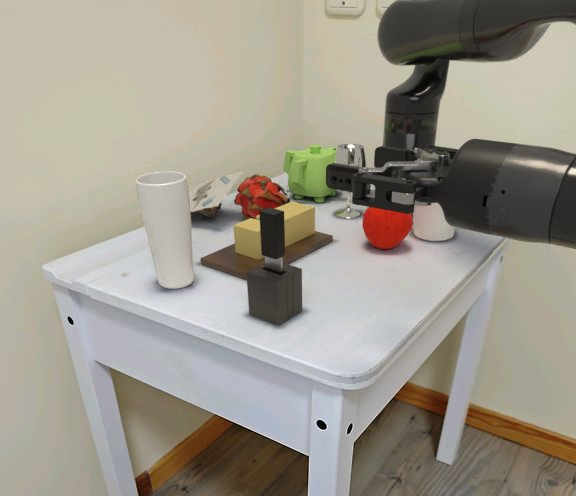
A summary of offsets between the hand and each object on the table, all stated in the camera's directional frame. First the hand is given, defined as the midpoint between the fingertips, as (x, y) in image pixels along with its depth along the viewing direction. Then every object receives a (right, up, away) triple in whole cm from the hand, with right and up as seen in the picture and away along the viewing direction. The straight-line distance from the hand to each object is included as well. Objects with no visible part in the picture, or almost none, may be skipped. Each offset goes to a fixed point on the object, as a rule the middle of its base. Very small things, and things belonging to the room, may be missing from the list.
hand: (353, 165), depth 56 cm
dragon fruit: (-11, +8, +47) cm, 49 cm away
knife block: (-8, -13, +18) cm, 23 cm away
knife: (-8, -13, +18) cm, 23 cm away
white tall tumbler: (-23, -7, +26) cm, 35 cm away
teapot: (-1, +16, +59) cm, 61 cm away
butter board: (-10, -1, +35) cm, 36 cm away
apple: (+9, +1, +36) cm, 37 cm away
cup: (+18, +3, +39) cm, 44 cm away
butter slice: (-12, -1, +32) cm, 34 cm away
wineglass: (+5, +10, +49) cm, 50 cm away
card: (-20, +10, +50) cm, 55 cm away
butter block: (-7, +2, +37) cm, 38 cm away
